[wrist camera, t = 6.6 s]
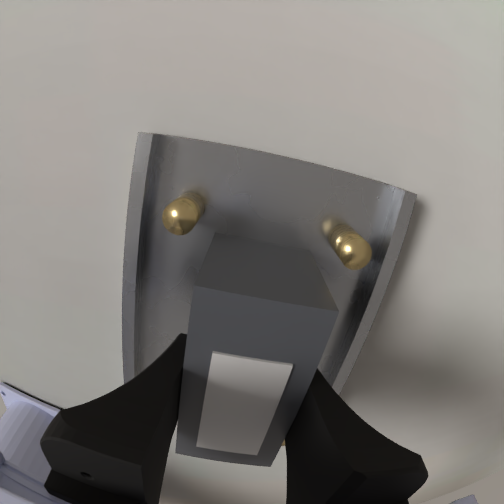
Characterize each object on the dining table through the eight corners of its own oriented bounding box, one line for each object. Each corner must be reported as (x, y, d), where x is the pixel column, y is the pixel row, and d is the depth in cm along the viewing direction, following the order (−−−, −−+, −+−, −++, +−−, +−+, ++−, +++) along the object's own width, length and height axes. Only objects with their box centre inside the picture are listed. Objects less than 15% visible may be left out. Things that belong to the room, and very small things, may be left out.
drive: (267, 390, 16) (270, 468, 11) (192, 378, 16) (174, 454, 11) (310, 251, 13) (340, 313, 8) (215, 232, 13) (193, 286, 8)
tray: (303, 435, 18) (307, 466, 16) (134, 407, 17) (123, 437, 15) (400, 188, 13) (429, 199, 10) (151, 132, 12) (128, 131, 10)
